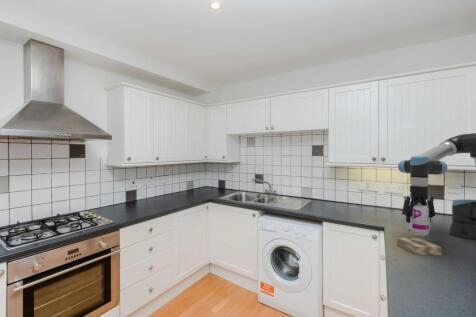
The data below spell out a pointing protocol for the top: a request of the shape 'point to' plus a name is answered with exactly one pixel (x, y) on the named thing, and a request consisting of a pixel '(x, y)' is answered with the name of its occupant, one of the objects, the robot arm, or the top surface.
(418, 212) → the supplement can
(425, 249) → the oak base
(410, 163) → the robot arm
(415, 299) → the top surface
